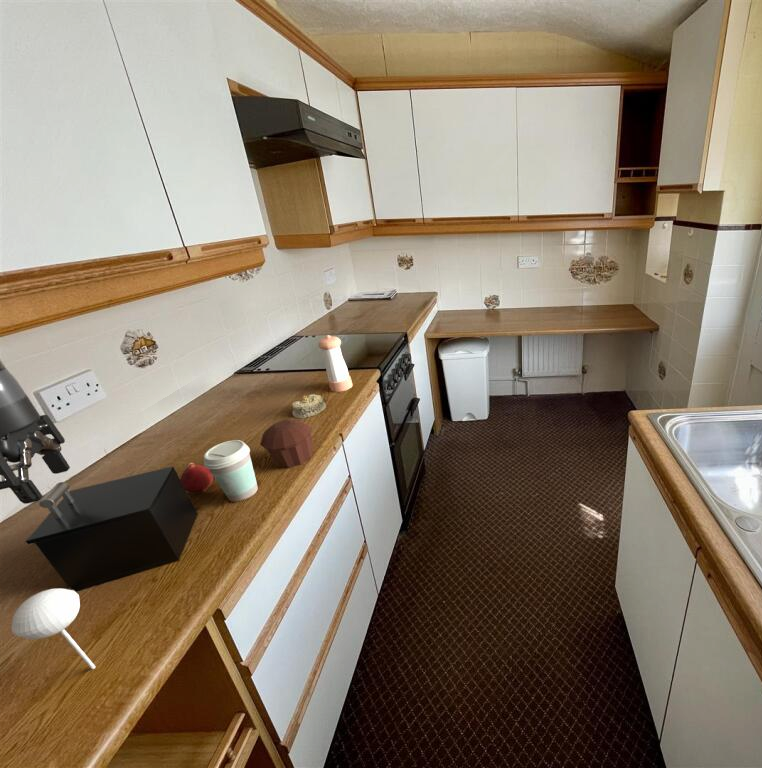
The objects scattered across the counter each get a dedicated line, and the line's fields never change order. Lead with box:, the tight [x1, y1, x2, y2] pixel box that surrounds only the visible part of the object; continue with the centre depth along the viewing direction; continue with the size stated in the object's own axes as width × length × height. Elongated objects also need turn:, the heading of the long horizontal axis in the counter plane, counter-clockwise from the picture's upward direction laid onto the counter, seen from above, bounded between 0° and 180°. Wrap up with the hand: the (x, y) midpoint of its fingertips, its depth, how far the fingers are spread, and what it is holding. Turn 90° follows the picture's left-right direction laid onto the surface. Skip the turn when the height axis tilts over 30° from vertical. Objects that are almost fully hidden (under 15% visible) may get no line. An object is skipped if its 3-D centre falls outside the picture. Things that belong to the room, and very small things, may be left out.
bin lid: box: [25, 465, 176, 545], centre depth 73 cm, size 16×14×5 cm
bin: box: [34, 469, 199, 593], centre depth 77 cm, size 16×14×12 cm
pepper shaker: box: [318, 334, 353, 393], centre depth 138 cm, size 7×7×19 cm
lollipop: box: [10, 587, 97, 671], centre depth 56 cm, size 6×6×15 cm
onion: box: [180, 462, 214, 494], centre depth 92 cm, size 6×6×8 cm
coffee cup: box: [203, 439, 259, 502], centre depth 90 cm, size 8×8×12 cm
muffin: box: [259, 419, 314, 469], centre depth 102 cm, size 12×11×10 cm
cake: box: [291, 393, 327, 419], centre depth 127 cm, size 10×10×5 cm
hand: (48, 485), depth 69 cm, fingers open, 8 cm apart
